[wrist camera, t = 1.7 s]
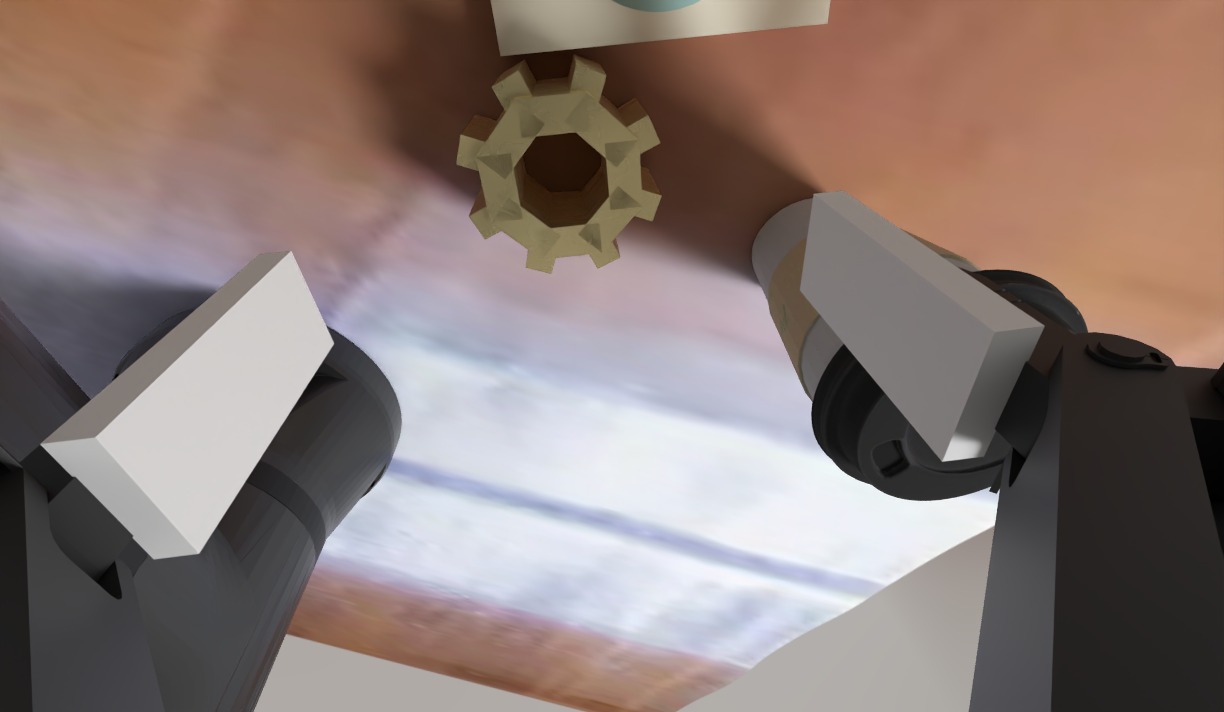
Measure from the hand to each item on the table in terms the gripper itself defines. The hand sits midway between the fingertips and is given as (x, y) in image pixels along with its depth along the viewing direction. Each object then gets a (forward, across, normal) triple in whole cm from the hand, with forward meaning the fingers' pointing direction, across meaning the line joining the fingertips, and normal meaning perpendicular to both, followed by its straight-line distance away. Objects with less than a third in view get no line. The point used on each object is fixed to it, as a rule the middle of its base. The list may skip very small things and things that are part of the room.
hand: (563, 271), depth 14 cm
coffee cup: (+15, +13, -7) cm, 21 cm away
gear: (+14, 0, 0) cm, 15 cm away
